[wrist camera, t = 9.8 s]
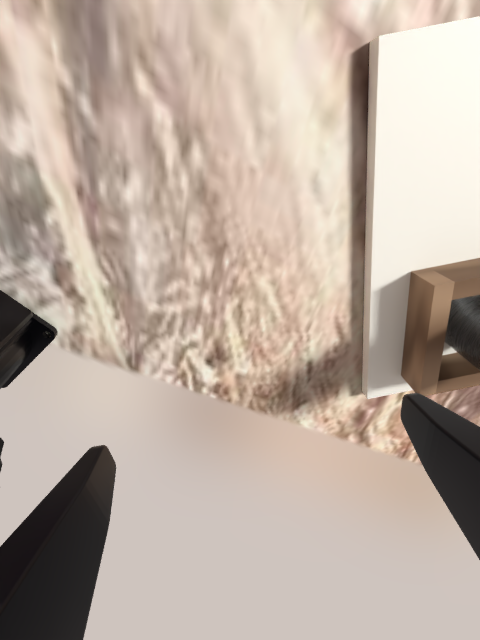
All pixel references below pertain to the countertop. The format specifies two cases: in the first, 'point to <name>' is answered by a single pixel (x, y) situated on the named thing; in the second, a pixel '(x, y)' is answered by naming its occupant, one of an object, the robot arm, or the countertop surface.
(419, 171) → the board
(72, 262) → the countertop surface
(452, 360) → the square wooden frame
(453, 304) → the grey tall rounded cylinder
